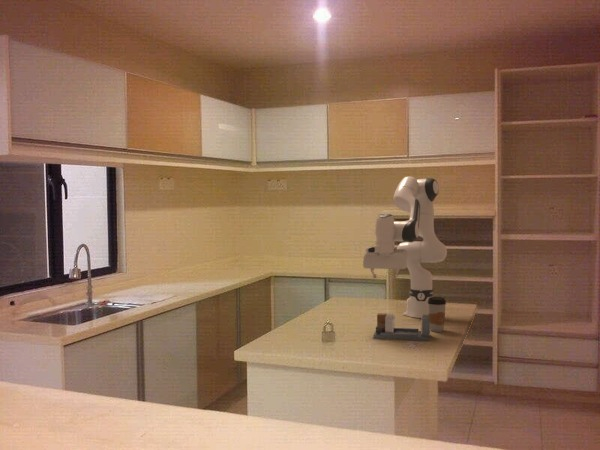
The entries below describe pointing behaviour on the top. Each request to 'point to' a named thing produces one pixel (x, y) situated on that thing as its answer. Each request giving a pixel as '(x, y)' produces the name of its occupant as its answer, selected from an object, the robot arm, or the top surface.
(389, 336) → the vise
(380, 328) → the jaw
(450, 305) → the top surface
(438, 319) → the coffee cup
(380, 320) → the block
